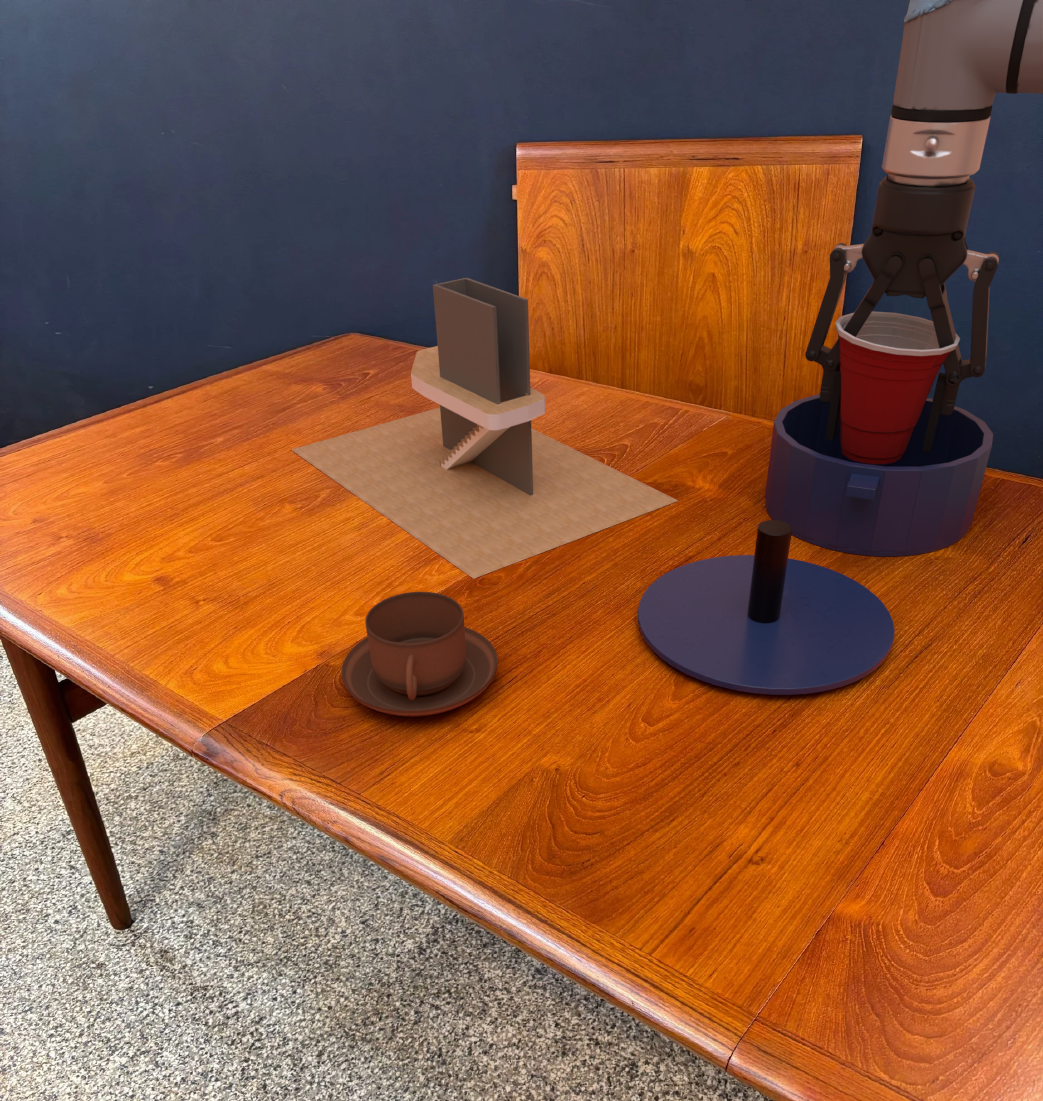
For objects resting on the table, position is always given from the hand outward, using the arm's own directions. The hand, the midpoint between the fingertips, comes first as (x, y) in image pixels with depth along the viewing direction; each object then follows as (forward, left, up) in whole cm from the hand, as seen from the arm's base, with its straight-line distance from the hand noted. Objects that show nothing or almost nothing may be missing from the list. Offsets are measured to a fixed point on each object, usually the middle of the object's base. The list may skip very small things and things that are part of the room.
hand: (878, 440), depth 96 cm
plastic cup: (0, 0, -1) cm, 1 cm away
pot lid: (+5, +25, -7) cm, 26 cm away
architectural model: (+41, +5, -7) cm, 42 cm away
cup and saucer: (+28, +42, -7) cm, 51 cm away
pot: (0, 0, -7) cm, 7 cm away
